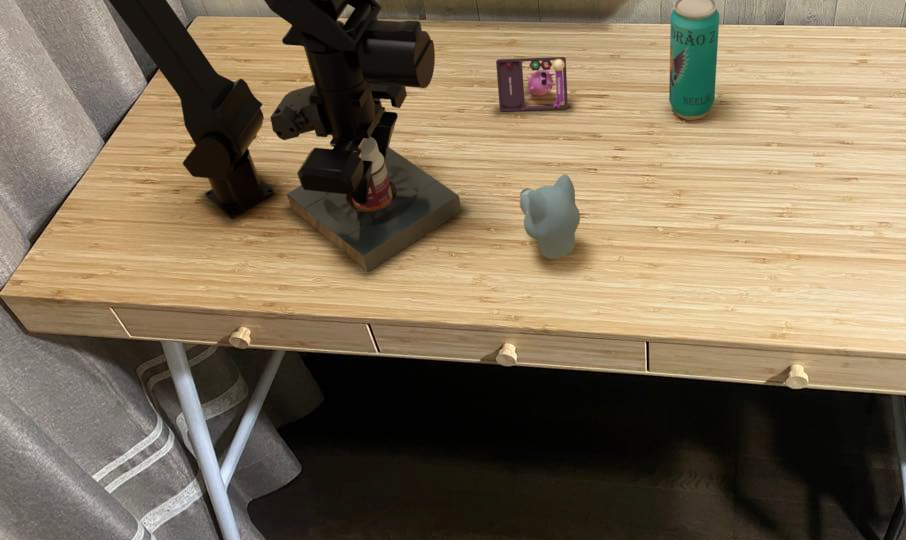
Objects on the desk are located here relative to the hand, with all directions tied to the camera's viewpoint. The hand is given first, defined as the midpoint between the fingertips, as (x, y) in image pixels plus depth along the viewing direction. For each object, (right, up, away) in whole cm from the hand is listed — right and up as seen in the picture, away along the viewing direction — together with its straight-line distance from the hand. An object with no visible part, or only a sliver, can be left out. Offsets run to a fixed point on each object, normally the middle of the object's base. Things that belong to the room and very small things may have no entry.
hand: (369, 188), depth 120 cm
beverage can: (+40, +12, +11) cm, 43 cm away
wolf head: (+21, -7, -4) cm, 23 cm away
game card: (+20, +14, +15) cm, 28 cm away
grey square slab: (0, -2, +2) cm, 3 cm away
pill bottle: (0, -2, +2) cm, 2 cm away
